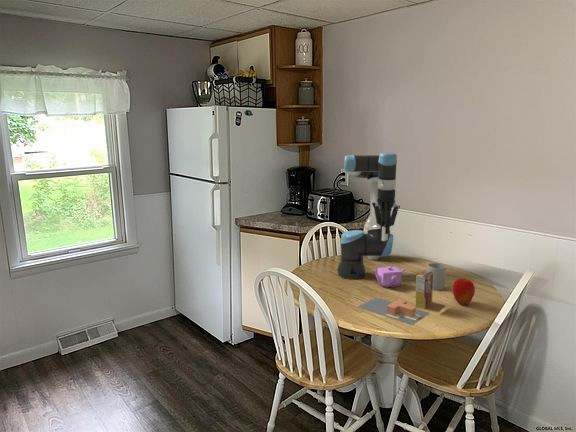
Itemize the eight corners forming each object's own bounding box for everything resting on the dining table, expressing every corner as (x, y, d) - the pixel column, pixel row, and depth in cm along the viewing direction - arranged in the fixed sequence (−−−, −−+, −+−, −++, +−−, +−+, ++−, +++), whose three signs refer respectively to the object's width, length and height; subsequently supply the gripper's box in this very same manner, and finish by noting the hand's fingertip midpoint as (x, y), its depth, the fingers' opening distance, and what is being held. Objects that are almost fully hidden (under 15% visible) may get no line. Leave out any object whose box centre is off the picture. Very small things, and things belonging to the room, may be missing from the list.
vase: (362, 261, 259) (363, 213, 254) (362, 254, 272) (363, 209, 266) (384, 262, 257) (386, 214, 252) (383, 255, 270) (385, 209, 264)
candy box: (423, 302, 200) (424, 269, 196) (432, 304, 197) (434, 271, 194) (414, 308, 193) (416, 275, 190) (423, 311, 190) (425, 277, 187)
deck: (357, 309, 193) (357, 307, 193) (375, 299, 204) (375, 297, 203) (412, 327, 175) (412, 325, 175) (429, 315, 186) (429, 313, 186)
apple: (478, 305, 195) (480, 279, 193) (461, 308, 192) (463, 282, 190) (463, 298, 204) (465, 273, 201) (447, 300, 201) (448, 275, 199)
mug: (447, 290, 214) (448, 268, 211) (429, 290, 213) (431, 268, 211) (438, 281, 225) (439, 260, 223) (421, 281, 225) (422, 261, 223)
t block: (386, 313, 186) (386, 305, 185) (398, 306, 193) (399, 298, 192) (407, 320, 179) (407, 312, 179) (419, 312, 186) (419, 304, 186)
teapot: (375, 292, 212) (376, 272, 210) (367, 282, 225) (368, 264, 223) (412, 290, 214) (413, 270, 212) (402, 280, 227) (402, 262, 225)
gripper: (369, 188, 197) (367, 239, 203) (395, 191, 188) (392, 244, 194) (378, 185, 202) (376, 235, 208) (404, 189, 194) (401, 241, 199)
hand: (384, 240), depth 201 cm, fingers closed
